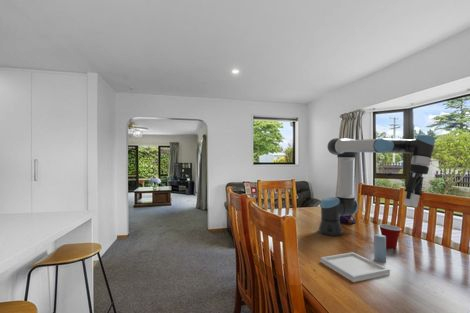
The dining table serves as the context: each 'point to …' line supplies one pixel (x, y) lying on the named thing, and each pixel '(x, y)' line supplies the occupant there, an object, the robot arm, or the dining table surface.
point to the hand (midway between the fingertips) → (410, 206)
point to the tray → (355, 266)
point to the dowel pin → (380, 248)
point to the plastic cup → (390, 235)
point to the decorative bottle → (347, 219)
